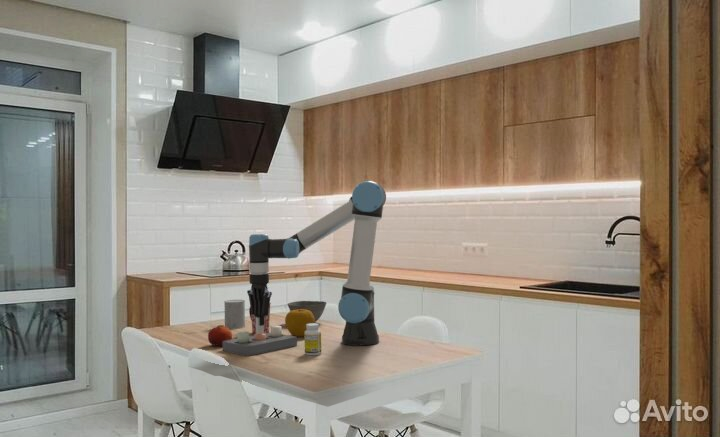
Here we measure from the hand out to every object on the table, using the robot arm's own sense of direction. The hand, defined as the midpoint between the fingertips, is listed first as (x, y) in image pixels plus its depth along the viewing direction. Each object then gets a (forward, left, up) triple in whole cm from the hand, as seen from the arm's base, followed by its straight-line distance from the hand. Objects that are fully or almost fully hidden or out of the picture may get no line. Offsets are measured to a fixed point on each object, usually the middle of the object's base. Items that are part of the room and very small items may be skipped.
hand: (259, 333), depth 237 cm
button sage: (0, +8, -3) cm, 8 cm away
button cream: (0, -8, -3) cm, 8 cm away
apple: (+7, -27, -6) cm, 29 cm away
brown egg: (0, 0, -4) cm, 4 cm away
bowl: (+28, -50, -6) cm, 58 cm away
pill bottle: (-24, -6, -6) cm, 26 cm away
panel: (0, 0, -6) cm, 6 cm away
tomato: (+17, +7, -6) cm, 19 cm away
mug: (+27, -20, -6) cm, 34 cm away
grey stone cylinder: (+48, -22, -6) cm, 53 cm away
